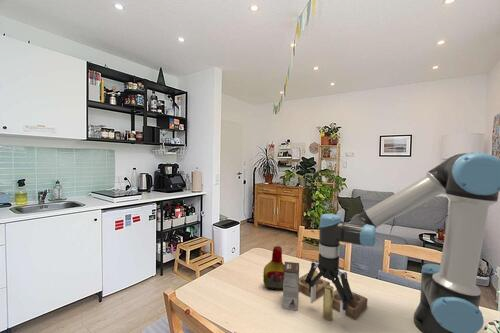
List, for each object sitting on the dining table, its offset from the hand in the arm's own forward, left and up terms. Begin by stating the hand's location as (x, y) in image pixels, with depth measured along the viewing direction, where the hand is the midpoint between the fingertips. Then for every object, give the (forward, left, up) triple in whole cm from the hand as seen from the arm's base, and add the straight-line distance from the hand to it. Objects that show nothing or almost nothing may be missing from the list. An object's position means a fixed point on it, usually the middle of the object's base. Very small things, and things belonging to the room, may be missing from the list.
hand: (327, 309), depth 93 cm
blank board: (-2, -13, -3) cm, 14 cm away
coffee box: (+15, +3, -4) cm, 16 cm away
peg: (0, 0, -3) cm, 3 cm away
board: (+15, -13, -3) cm, 20 cm away
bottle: (+27, -1, -4) cm, 27 cm away
